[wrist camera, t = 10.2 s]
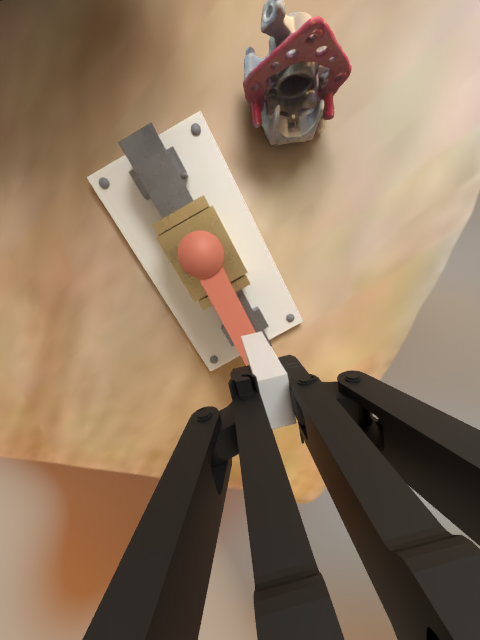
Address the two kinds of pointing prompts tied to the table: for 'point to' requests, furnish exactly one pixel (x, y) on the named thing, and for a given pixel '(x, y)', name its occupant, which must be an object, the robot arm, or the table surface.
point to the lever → (215, 283)
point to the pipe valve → (183, 216)
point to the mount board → (222, 192)
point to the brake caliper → (294, 75)
